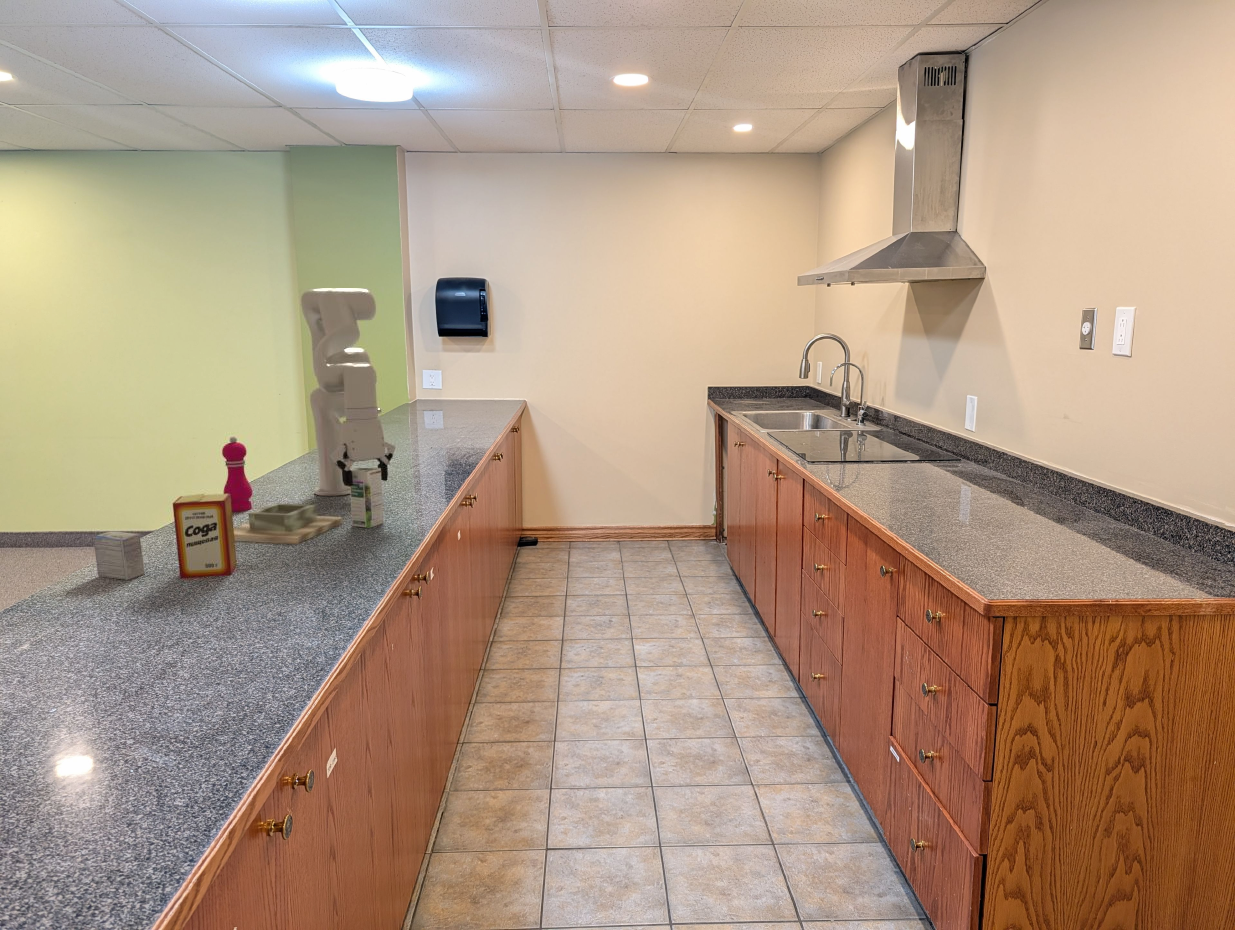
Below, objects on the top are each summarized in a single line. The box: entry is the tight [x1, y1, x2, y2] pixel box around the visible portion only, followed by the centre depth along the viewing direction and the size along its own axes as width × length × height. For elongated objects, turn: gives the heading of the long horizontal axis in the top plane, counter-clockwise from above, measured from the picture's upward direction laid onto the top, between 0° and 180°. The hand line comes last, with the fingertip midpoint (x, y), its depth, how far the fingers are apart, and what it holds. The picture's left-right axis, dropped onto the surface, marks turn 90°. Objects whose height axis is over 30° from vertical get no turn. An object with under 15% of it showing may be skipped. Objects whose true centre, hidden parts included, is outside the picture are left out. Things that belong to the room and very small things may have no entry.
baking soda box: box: [172, 493, 238, 580], centre depth 171 cm, size 10×6×16 cm
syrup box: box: [349, 466, 384, 529], centre depth 209 cm, size 6×6×14 cm
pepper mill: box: [221, 436, 253, 512], centre depth 226 cm, size 7×7×20 cm
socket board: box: [233, 502, 344, 545], centre depth 204 cm, size 20×20×6 cm
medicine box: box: [92, 530, 145, 581], centre depth 170 cm, size 8×4×9 cm, turn 71°
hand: (366, 482), depth 208 cm, fingers open, 9 cm apart
